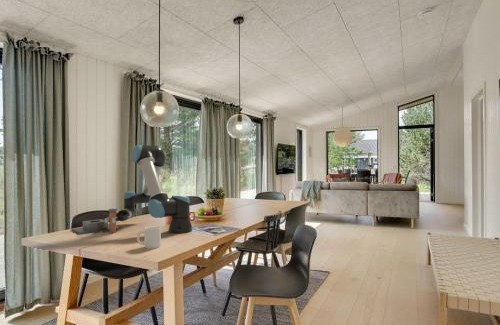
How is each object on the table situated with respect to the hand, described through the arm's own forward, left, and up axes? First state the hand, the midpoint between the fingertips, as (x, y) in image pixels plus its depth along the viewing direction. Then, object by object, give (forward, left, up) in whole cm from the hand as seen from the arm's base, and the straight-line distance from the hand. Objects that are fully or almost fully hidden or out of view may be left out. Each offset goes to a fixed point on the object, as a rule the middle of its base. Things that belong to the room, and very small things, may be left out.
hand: (109, 220), depth 203 cm
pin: (-4, -4, -8) cm, 10 cm away
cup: (-3, +47, -9) cm, 48 cm away
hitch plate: (+1, -21, -8) cm, 22 cm away
